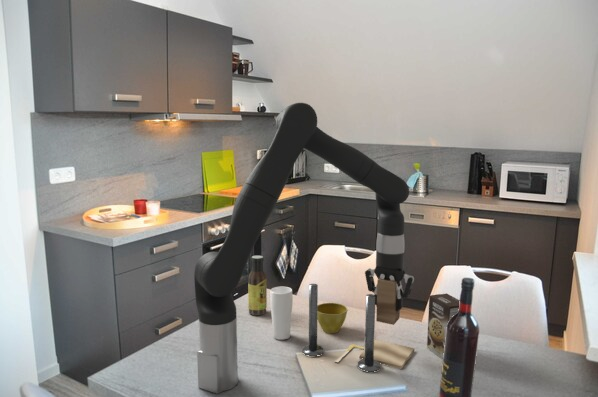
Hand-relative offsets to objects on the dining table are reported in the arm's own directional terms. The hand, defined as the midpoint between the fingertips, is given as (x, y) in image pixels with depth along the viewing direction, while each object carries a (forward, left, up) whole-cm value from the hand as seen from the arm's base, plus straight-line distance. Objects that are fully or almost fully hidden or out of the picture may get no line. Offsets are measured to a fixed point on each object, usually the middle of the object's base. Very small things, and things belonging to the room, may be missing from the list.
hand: (388, 308), depth 133 cm
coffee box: (+9, -14, -14) cm, 22 cm away
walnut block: (0, 0, -3) cm, 3 cm away
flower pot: (+7, +21, -14) cm, 26 cm away
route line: (-6, +8, -14) cm, 17 cm away
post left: (-9, +19, -14) cm, 25 cm away
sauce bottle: (+7, +49, -14) cm, 51 cm away
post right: (-9, +2, -14) cm, 17 cm away
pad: (0, 0, -14) cm, 14 cm away
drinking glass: (-5, +32, -14) cm, 35 cm away
